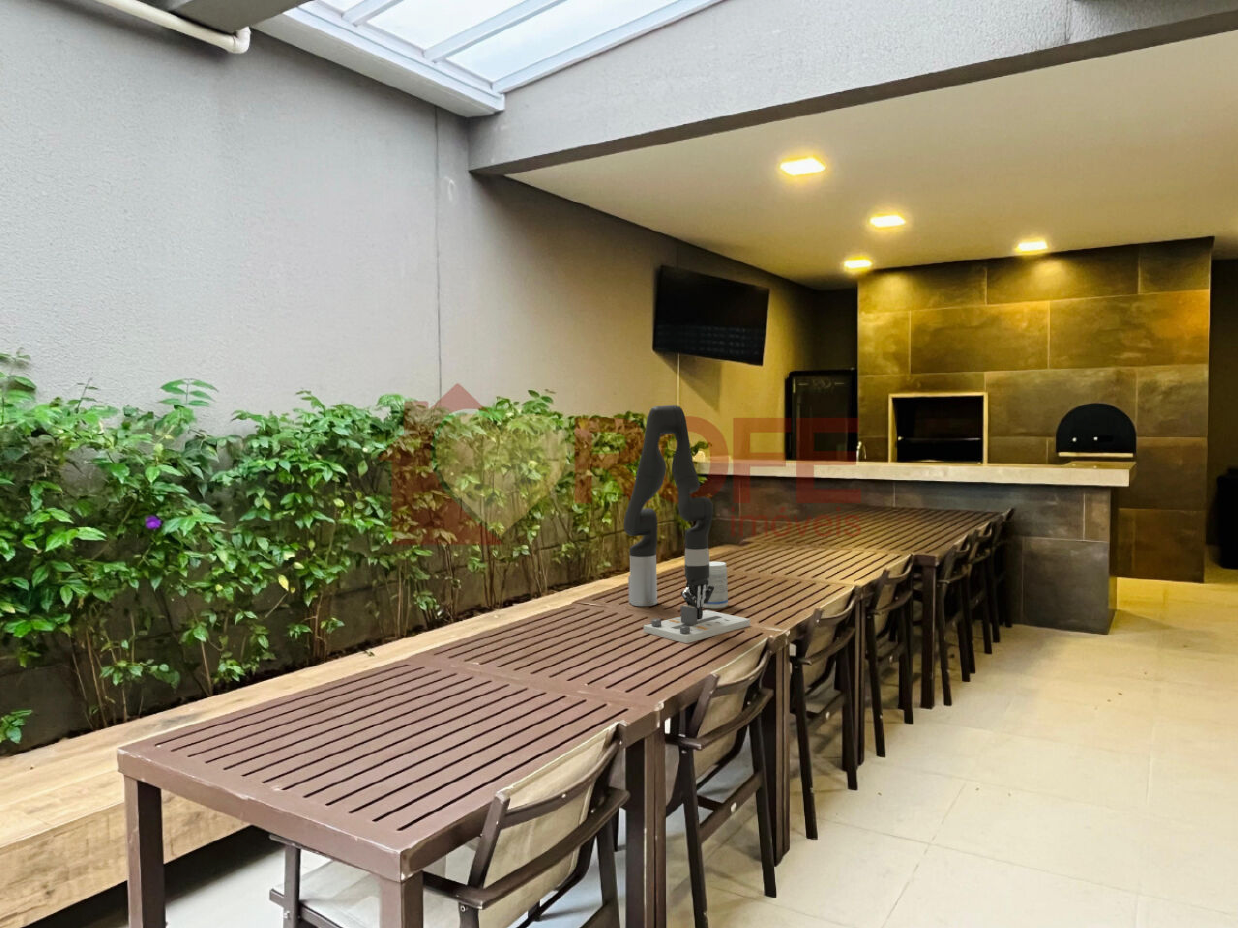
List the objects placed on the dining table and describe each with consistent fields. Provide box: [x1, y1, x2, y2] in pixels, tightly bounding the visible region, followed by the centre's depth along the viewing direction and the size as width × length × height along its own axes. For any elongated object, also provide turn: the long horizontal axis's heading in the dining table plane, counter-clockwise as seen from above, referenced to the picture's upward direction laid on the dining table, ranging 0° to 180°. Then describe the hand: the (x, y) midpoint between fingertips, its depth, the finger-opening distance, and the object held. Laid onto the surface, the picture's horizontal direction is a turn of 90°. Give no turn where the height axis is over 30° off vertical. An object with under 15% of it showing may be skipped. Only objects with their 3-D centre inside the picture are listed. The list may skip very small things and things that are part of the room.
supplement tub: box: [703, 561, 729, 610], centre depth 281 cm, size 10×10×15 cm
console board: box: [643, 609, 751, 644], centre depth 251 cm, size 18×28×4 cm, turn 131°
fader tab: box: [680, 604, 697, 625], centre depth 249 cm, size 5×2×5 cm, turn 41°
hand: (697, 618), depth 251 cm, fingers closed
